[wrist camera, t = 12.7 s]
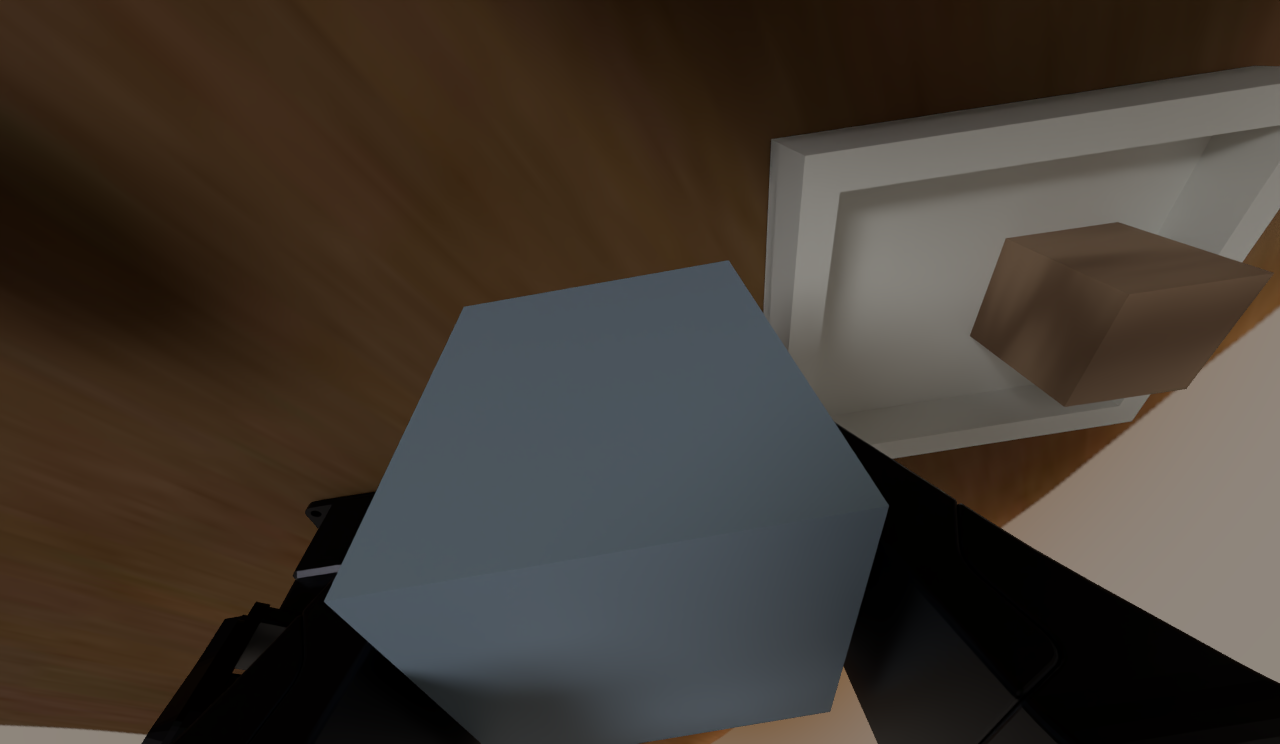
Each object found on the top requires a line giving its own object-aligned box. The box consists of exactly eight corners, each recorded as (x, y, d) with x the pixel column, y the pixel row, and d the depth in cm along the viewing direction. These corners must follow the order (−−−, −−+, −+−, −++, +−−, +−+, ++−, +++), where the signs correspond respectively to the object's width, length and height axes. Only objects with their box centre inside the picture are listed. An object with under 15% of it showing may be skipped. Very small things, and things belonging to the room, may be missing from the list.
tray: (1076, 383, 24) (1131, 421, 22) (758, 432, 24) (777, 476, 21) (1254, 65, 16) (1376, 69, 13) (771, 139, 16) (804, 155, 13)
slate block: (734, 448, 10) (829, 711, 6) (538, 482, 10) (505, 765, 6) (728, 260, 8) (889, 505, 4) (463, 307, 8) (324, 602, 4)
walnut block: (1067, 321, 20) (1186, 388, 16) (969, 335, 20) (1064, 406, 16) (1117, 222, 18) (1273, 272, 14) (1005, 238, 18) (1129, 294, 14)
